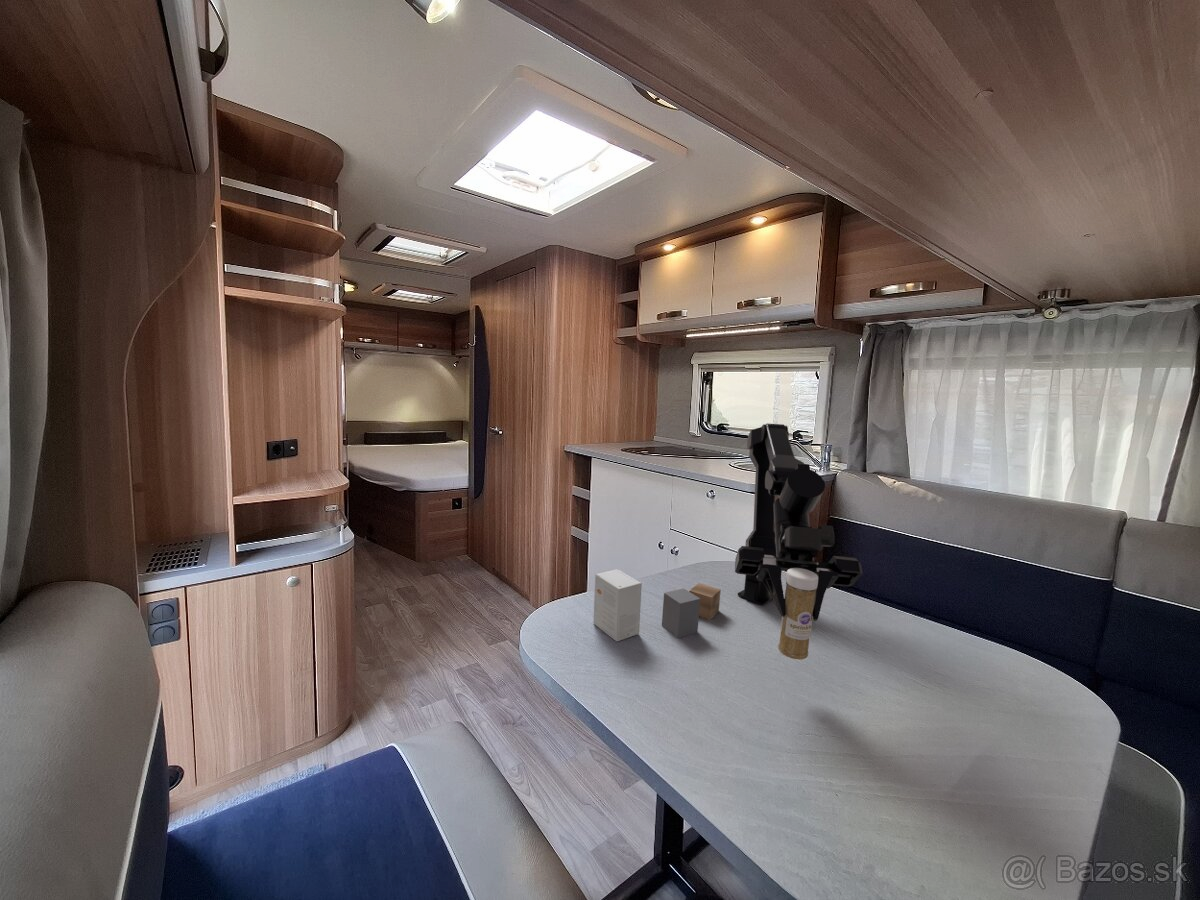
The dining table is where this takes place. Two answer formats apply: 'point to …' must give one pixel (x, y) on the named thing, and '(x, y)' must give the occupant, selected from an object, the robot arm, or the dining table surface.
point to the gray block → (680, 612)
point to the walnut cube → (707, 599)
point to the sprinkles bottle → (798, 613)
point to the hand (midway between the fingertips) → (799, 618)
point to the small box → (617, 604)
